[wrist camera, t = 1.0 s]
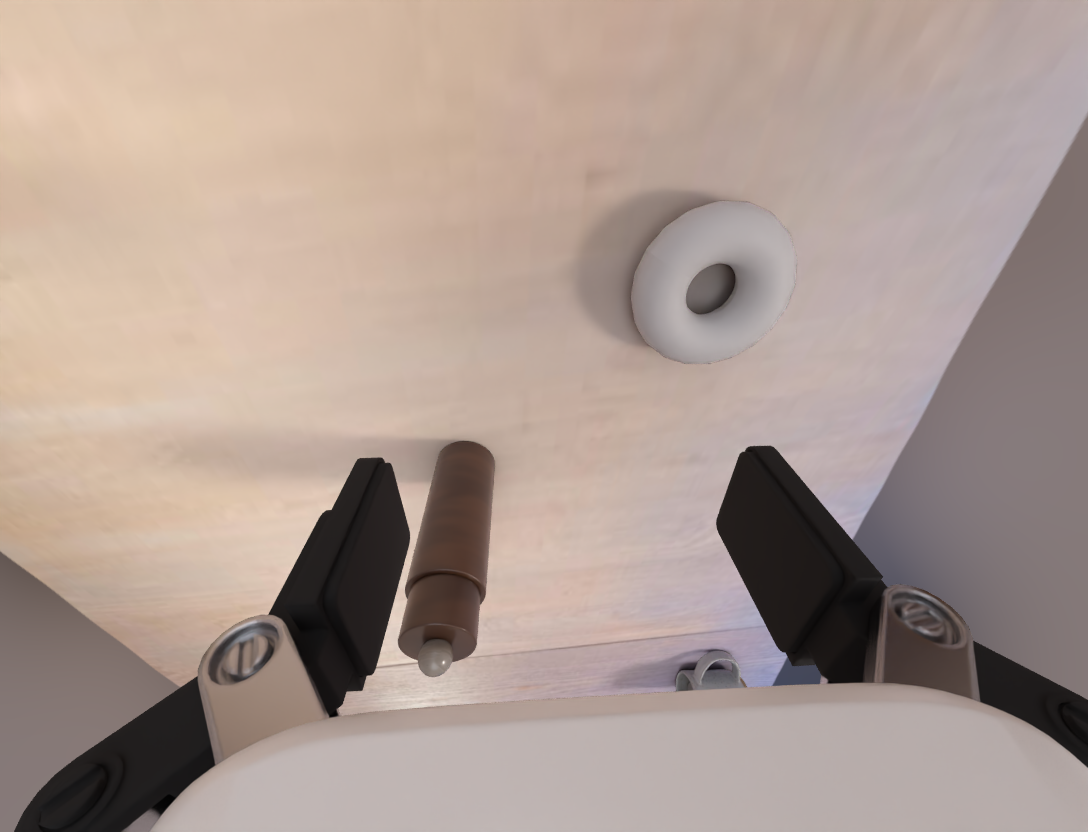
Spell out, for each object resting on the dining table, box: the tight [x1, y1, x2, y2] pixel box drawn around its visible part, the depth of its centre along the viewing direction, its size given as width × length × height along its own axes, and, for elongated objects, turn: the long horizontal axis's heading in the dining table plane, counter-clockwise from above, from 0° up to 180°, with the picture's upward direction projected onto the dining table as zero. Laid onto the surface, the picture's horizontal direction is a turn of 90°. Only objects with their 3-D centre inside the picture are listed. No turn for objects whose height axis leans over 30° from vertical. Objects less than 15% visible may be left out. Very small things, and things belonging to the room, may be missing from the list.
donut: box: [631, 201, 797, 364], centre depth 25 cm, size 10×4×10 cm
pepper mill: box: [398, 441, 495, 677], centre depth 28 cm, size 5×5×16 cm
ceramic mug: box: [676, 651, 747, 691], centre depth 55 cm, size 11×8×8 cm
